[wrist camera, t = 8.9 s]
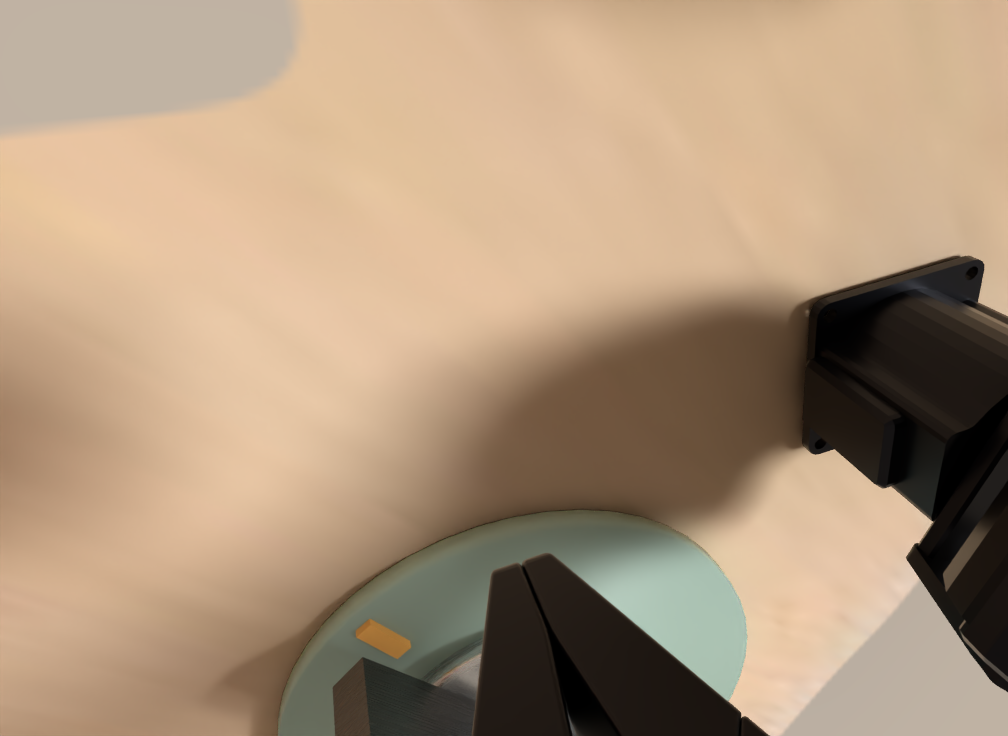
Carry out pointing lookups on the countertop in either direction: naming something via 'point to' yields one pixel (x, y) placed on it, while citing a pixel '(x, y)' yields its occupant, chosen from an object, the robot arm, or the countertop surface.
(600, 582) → the dial plate
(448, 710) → the dial
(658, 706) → the robot arm
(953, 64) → the countertop surface
